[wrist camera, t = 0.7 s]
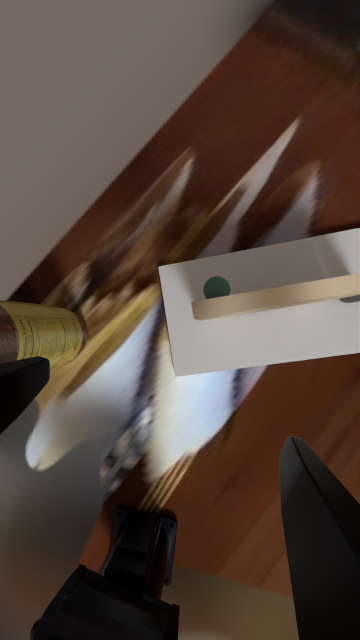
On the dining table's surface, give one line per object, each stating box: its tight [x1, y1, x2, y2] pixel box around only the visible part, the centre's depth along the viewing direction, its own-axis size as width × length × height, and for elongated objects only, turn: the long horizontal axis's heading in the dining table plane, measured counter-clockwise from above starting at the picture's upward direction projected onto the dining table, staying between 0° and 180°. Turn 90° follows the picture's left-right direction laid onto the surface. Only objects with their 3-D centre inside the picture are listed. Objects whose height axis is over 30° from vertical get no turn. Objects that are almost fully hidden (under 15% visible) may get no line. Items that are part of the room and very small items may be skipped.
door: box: [191, 273, 360, 321], centre depth 18 cm, size 14×4×10 cm, turn 99°
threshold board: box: [159, 228, 360, 377], centre depth 24 cm, size 20×11×1 cm, turn 99°
